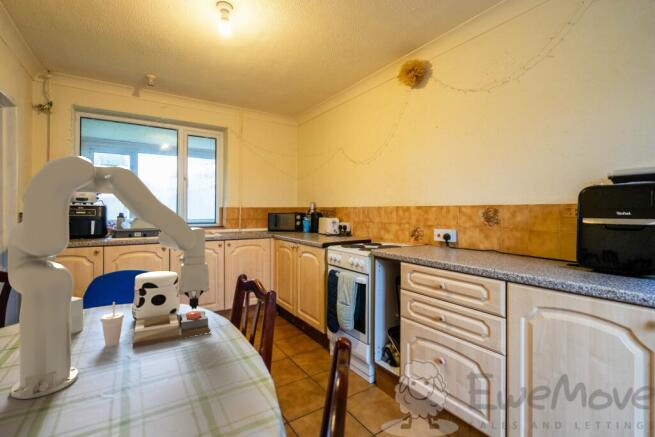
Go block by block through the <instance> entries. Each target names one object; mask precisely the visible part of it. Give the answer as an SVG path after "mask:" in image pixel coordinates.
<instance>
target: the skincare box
mask: <svg viewBox="0 0 655 437" xmlns="http://www.w3.org/2000/svg"><path fill="white" fill-rule="evenodd" d="M83 330H84V298H83V297H77V296H72V300H71V335H72V334H75V333H78V332H81V331H83Z"/></svg>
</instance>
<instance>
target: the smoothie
mask: <svg viewBox="0 0 655 437" xmlns="http://www.w3.org/2000/svg"><path fill="white" fill-rule="evenodd" d="M124 318H125V314H124V312H116V302H115V301H113V302H112V312H111V313H106V314H103V315H101V316H100V322H101V325H102V331H103V332H102V333H103V339H104V345H105V347H107V348H111V347H114V346H117V345H119V344H120V339H121V333H122V327H123V320H124Z"/></svg>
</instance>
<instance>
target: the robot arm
mask: <svg viewBox="0 0 655 437" xmlns="http://www.w3.org/2000/svg"><path fill="white" fill-rule="evenodd" d="M77 191H79V192H85V193H86V192H87V193H93V194H94V193H95V194H108V195H109V194H110V195H113V196H114V197H115V198H116V199H117V200H118V201H119V202H120V203H121V204H122V205H123V206H124V207H125V208H126V209H127V210H128V211H129V212H130V213H131V214H132V215H133V217H135V218H137V219H138V220H140V221H141V222H144V223H146V224H148V225H151V226H153V227H155V228H157V229H158V230H160V231H161V232H160V233H159V234H158V236H157V239H158V243H159V244H160V246H162V247H163V248H166V249H170V250H176V251H177V250H178V251H183V255H182V257H179V259H178V262H180V263H181V265H180V270H179V276H178V295H180V296H181V295H182V296H186V297H187V298H189V308H190V307H191V310H197V308H198V307H199V299H200V297H201V296H202V295H203V294H204V293H206V292H209V291H210V273H209V266H208V262H206V230H205V229H204V228H203V227H191V226H190V225H189V224H188V222H186V220H185V219H184V218H182V217H181V216H180V215H179V214H178V213H176V212H175V211H174V210H172V209H171V208H170V207H168V206H167V205H165V204H164V203H162V202H161V201H160V200H159V199H158V198H157V197H156V195H154V193H153V192H152V191H151V190H150V189H149V188H148V187H147V186H146V184H145V183H144V182H143V180H141V178H140V177H139V176H138V175H137V174H136V173H135V172H134V170H132V169H130V168H129V167H127V166H123V165H111V166H101V165H94V163H93V162H92V161H91V160H90V159H88V158H86V157H84V156H80V155H68V156H63V157H57V158H53V159H50V160H48V161H47V162H46V163H45V164H44V165H43V166H42V167H41V169H39V170H38V171H37V172H35V174H34V175H33V176H32V177H31V179H30V180H29V181H28V183H27V185H26V187H25V190H24V194H23V195H24V196H23V202H22V203H23V205H22V221H21V222H20V221H19V223H17V224H15V225H14V226H13V228H12V229H11V231H10V233H9V235H8V240H7V277H8V283H9V285H10V287H11V288H12V289H14V290H15V292H17V293H19V294H21V301H20V302H21V303H20V310H19V316H18V317H19V318H18V322H19V323H18V327H19V328H18V330H19V381H17V382H15V384H13V386H12V387H11V388H10V396H11V397H12V398H13V399H19V400H26V399H29V400H30V399H35V398H40V397H44V396H47V395H50V394H53V393H55V392H58V391H60V390H63V389H64V388H67V387H68V386H69V385H71V384H73V383H74V382H75V381H76V379H78V377H79V370H78V368H76V367H73V366H72V351H71V350H72V349H71V348H72V334H71V300H72V297H73V292H74V289H75V288H74V287H75V285H74V284H75V280H74V276H73V274H72V272H71V271H70V270H69V269H68V268H67V267H66V266H64V265H63V264H60V263H58V262H57V256H58V255H60V254H62V253H64V252H65V250H66V249H67V248H68V247H69V246H68V245H69V243H70V224H69V223H70V216H69V215H70V214H69V213H70V205H71V204H70V203H71V200H72V197H73V196H74V194H75V193H76V192H77ZM193 292H195V294H194V296H193ZM197 306H198V307H197Z"/></svg>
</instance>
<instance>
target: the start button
mask: <svg viewBox="0 0 655 437" xmlns="http://www.w3.org/2000/svg"><path fill="white" fill-rule="evenodd" d="M200 311H201V310H200ZM200 311H199V310H191V311H188V312H186V313H187V314H186V318H187V320H191V319H197V318H201V312H200Z"/></svg>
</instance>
